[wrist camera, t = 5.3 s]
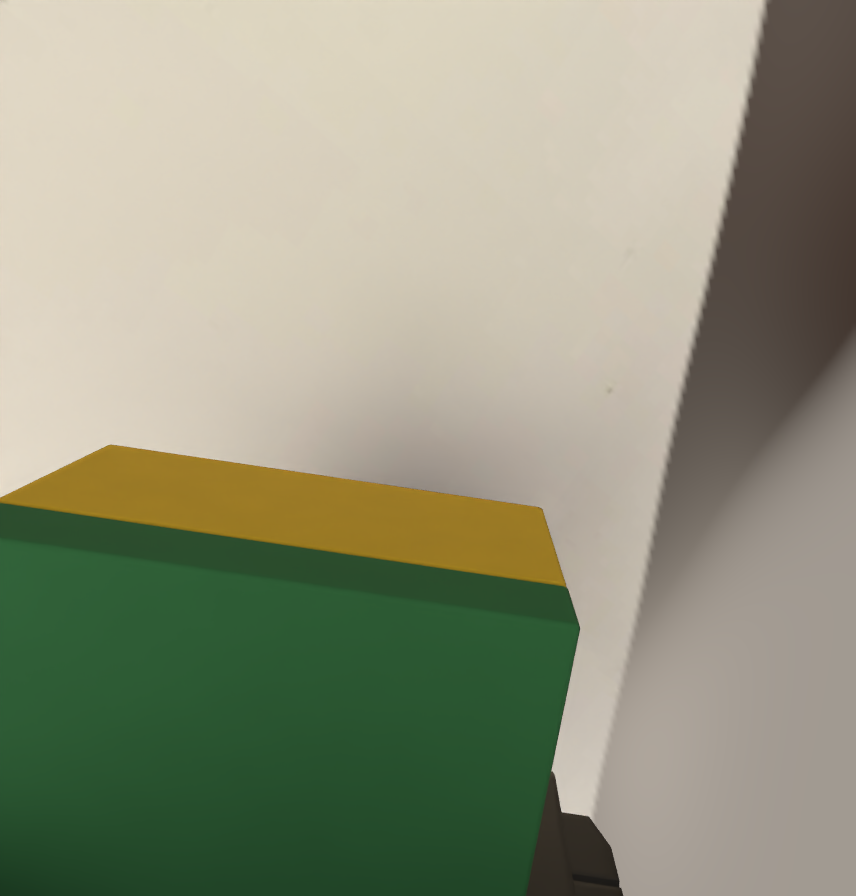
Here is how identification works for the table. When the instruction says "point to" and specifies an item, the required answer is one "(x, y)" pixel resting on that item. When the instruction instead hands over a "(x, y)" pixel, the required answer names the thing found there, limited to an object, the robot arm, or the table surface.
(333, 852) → the sponge
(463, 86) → the table surface
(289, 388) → the table surface
